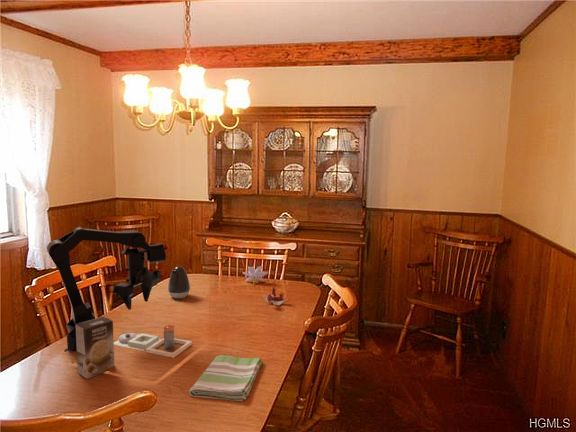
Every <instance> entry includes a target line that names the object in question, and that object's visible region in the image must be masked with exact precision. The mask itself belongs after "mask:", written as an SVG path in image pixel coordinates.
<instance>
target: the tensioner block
mask: <svg viewBox="0 0 576 432" xmlns="http://www.w3.org/2000/svg"><path fill="white" fill-rule="evenodd" d="M161 339H162V338H160V336H159V335H153V334H148V333H143V332H141V333H140V334H137V333H133V332H128V333H123V334H121V335H119V336H118V340H116V341H114V346H119V347H123V348H129V349H134V350H137V351H144V352H145V351H146V349H147V348H148V347H150V346H152V345H153V344H155V343H156V342H158V341H160V340H161Z"/></svg>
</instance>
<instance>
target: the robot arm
mask: <svg viewBox="0 0 576 432" xmlns="http://www.w3.org/2000/svg"><path fill="white" fill-rule="evenodd" d="M83 241H91V242H92V241H93V242H103V243H112V244H113V243H116V244H121V245H123V246H125V248H124V249H123V250H121V254H122V255H124V256H125V255H127V267H125V271H126V272H128V277H127V278H126V279H125V281H126V282H120V283H117V284H114V286H113V287H112V290H113V291H112V292H113V294H116V295H118V296H119V297H120V299H121V300H122V302H123V303H124V305H125V307H126V308H127V310H129V311H130V310H131V309H132V301H133V299H132V296H133V295H134V294H135V291H134V290H135V289H134V288H135V287H137V286H140V288H141V293H142V297H143V300H144V302H145V303H146V302H149V298H150V294H151V291H152V289H153V287H154V286H157V285H158V282H159V281H160V280H162V278H161V271H160V270H157V269H156V270H154V271H149V268H148V266H146V263H145V261H146V262H148V263H149V264H152V263H153V264H155V263H160V262H165V261H166V258H167V253H166V249H165V248H164V244H163V243H162V242H161V243H156V244H149V243H147V241H146V237H145V235H144V234H143V233H142V232H140V231H138V230H137V229H129V230H121V231H113V230H103V229H94V228H93V229H92V228H83V227H79V226H77V227H75V228H74V230H72V231H70V232H68V233H67V234H65V235H63V236H62V237H60V238H58V239H53V240H52V241H50V242H48V244H47V245H46V252H47V253H48V255H49V257H50V259H51V260H52V262H53V263H54V265H55V266H56V268H57V270H58V273H59V275H60V278H61V281H62V283H63V285H64V289H65V291H66V294H67V297H68V300H69V303H70V305H71V306H70V308H71V317H72V318H71V319H70V320H69V321H68V322H67V324H65V326H66V329H67V331H68V333H67V334H66V345H67V347H66V348H65V349H64V350H63V351H64V352H68V351H71V352H77V344H76V324H77V323H81V322H84V321H88V320H92V319H96V318H95V317H96V315H94V313H93V310H92V306H91V305H90V304H91V303H89V302H85V303H84V300H83V299H82V295H81V291H80V289H79V287H78V284H77V281H76V279H75V276H74V273H73V271H72V267H71V258H70V252H71V251H72V250H74V249H75V248H76V246H78V245H79V244H80V243H81V242H83ZM129 247H130V248H129ZM140 248H141V249H140Z"/></svg>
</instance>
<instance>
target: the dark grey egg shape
mask: <svg viewBox="0 0 576 432" xmlns="http://www.w3.org/2000/svg"><path fill="white" fill-rule="evenodd" d="M168 280H169V281H168V288H167V291H168V293H169V296H170V297H171V298H173V299H175V300H176V299H177V300H179V299H180V300H181V299H184V298H186V297H187V296H188V295H189V292H190V290H191V285H190V279H189V276H188V273H187V271H186V269H185V268H184V267H183V266H181V265H177V266H175V267H174V268H173V269H172V270H171V273H170V276H169V279H168Z"/></svg>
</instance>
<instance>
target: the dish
mask: <svg viewBox="0 0 576 432" xmlns="http://www.w3.org/2000/svg"><path fill="white" fill-rule="evenodd" d="M160 339H161V340H160V341H158V342H156V343H155V344H153V345H152V346H150V347H148V348H147V349H146V350H145V353H149V354H152V355H157V356H163V357H166V358H167V357H168V358H173V359H174V358H175V357H176V356H178V355H179V354H180V353H183V352H184V351H185V350H187V349H188V348H189V347H190V346H191V345H193V342H192V340H187V339H182V338H176V337H174V343H176V344H181V345H182V346H180V347H179V348H177V349H176V350H175V351H173V352H171V351H167V350H161V349H157V348H158V347H160V346H161V345H162V344H163V345H164V337H163V338H160Z"/></svg>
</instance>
